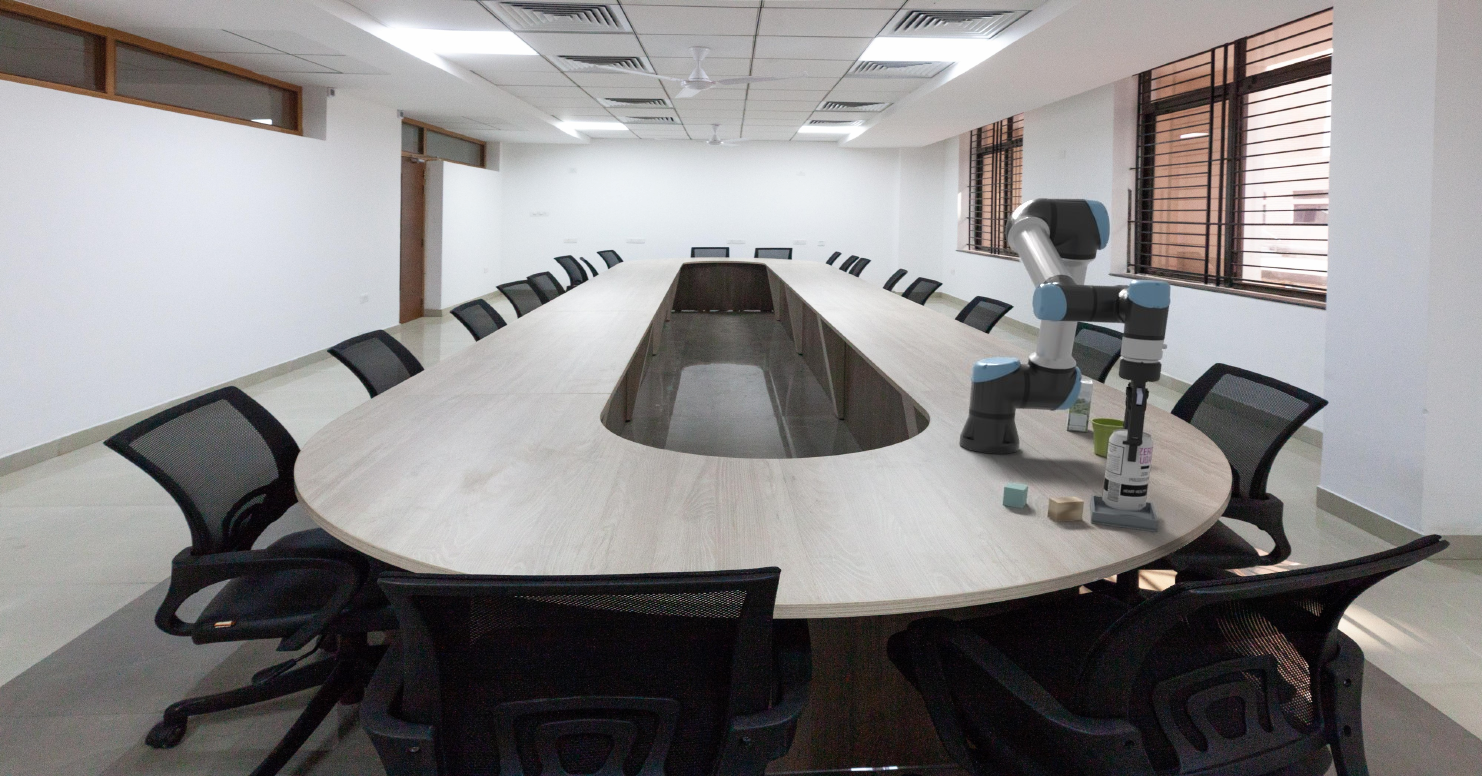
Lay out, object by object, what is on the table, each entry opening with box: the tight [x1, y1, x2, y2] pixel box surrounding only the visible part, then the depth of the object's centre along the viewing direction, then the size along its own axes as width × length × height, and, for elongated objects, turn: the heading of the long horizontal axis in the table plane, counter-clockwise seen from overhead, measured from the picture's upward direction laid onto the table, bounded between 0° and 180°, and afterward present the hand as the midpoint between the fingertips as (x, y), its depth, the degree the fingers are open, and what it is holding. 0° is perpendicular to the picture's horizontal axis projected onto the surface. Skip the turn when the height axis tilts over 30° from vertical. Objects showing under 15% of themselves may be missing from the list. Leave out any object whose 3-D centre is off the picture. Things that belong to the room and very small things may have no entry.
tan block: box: [1047, 496, 1085, 522], centre depth 182 cm, size 6×3×4 cm, turn 106°
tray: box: [1089, 494, 1159, 533], centre depth 183 cm, size 12×12×2 cm
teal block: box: [1002, 481, 1029, 509], centre depth 190 cm, size 4×4×4 cm
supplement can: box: [1102, 429, 1154, 511], centre depth 181 cm, size 8×8×15 cm
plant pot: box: [1090, 417, 1124, 458], centre depth 232 cm, size 9×9×9 cm
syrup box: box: [1066, 378, 1094, 433], centre depth 258 cm, size 6×6×14 cm
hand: (1127, 470), depth 181 cm, fingers closed on supplement can, 8 cm apart
